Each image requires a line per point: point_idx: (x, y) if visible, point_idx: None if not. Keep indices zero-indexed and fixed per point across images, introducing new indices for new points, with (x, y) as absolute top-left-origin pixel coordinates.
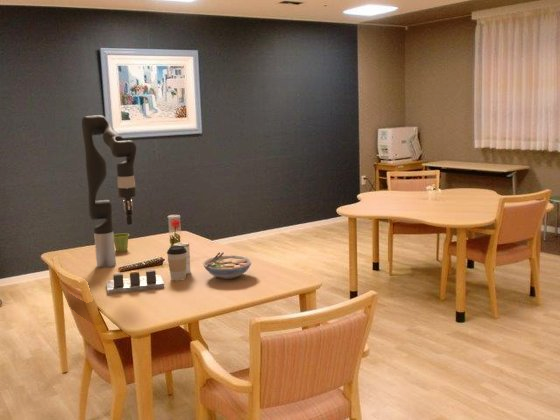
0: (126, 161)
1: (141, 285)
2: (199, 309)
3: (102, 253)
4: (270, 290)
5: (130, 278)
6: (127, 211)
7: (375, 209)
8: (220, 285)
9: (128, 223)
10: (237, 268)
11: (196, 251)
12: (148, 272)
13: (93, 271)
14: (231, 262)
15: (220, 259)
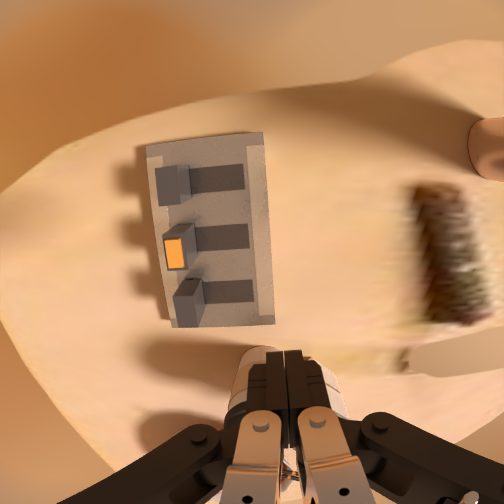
0: None
1: (164, 260)
2: (36, 359)
3: (499, 135)
4: None
5: (167, 231)
6: (122, 482)
7: None
8: (171, 428)
9: (254, 369)
10: None
11: (478, 391)
12: (174, 302)
13: (442, 100)
14: None
15: (287, 468)
